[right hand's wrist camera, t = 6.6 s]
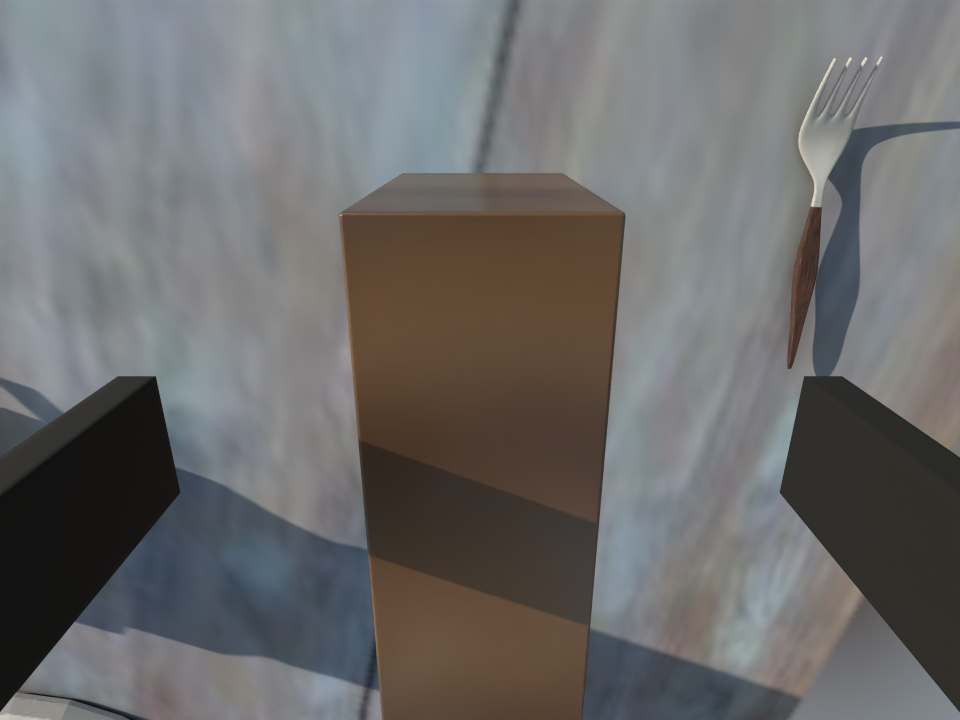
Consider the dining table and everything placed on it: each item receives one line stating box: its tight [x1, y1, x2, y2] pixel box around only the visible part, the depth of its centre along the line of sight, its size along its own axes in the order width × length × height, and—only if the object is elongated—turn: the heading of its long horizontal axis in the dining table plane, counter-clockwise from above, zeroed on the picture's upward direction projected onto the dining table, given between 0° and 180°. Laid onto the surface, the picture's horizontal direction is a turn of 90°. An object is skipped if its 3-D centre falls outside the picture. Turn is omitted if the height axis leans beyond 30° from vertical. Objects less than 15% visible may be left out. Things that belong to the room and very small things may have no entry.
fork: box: [787, 57, 883, 369], centre depth 31 cm, size 3×16×2 cm, turn 2°
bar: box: [339, 173, 625, 720], centre depth 20 cm, size 28×5×9 cm, turn 0°
